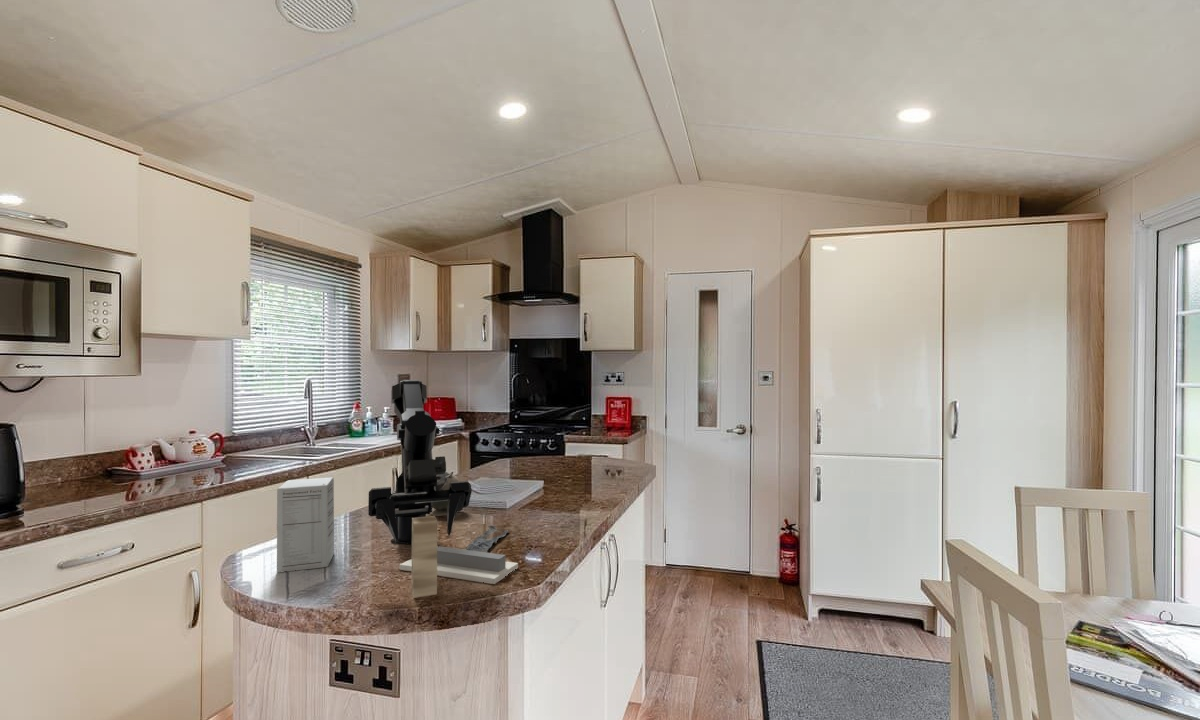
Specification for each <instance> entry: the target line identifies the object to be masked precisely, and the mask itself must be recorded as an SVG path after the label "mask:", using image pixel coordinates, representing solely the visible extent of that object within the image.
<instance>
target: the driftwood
mask: <svg viewBox="0 0 1200 720" xmlns="http://www.w3.org/2000/svg"><path fill="white" fill-rule="evenodd" d="M494 532H498V533H499V532H503V530H498V528H497V527H496V526H495V525H491V524H490V525H489V526H488V530H485V532H483V533H482V534H481V535H479V536H477V537H476V538H475V539H474V540H472V542H471V543H469V544H468V545H467V547H466V548H465V550H471V551H479V552H486V553H488V551H489V549H491V547H492V546H493V544H494V545H496V544H497V541H498V540H499V538H503V537H505V536H506V535H507V534H509V529H505V530H504V533H502V534H500V535H497V536H496V537H492V538H486V537H487V536H490V535H492V534H493V535H494Z"/></svg>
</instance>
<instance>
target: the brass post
mask: <svg viewBox="0 0 1200 720" xmlns="http://www.w3.org/2000/svg"><path fill="white" fill-rule="evenodd" d="M437 546H438V519H437V516H434V515H428V516H426V517H416V518H412V545H411V559H412V571H411V593H412V598H413V599H417V598H422V597H429V596H434V595H438V575H437Z"/></svg>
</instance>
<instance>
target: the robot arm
mask: <svg viewBox="0 0 1200 720" xmlns="http://www.w3.org/2000/svg"><path fill="white" fill-rule="evenodd" d="M427 387H428V386H427V385H426V384H424V383H423V381H422V380H419V379H403V380H400V382H399V383H397V384H396V383H395V384H393V385H392V386H391V391H390V393H391V394H390V396H391V397H390V404H391V405H392V404H393V413H394V414H395V415H396V416H397V418H398V419H399V420H400V421H399V422H400V423H397V425H396V440H397V441H400V445H401V447H400V448H401V449H400V450H401V453H400V454H401V473H400V475H399V476H398V477H397V480H396V482H395V489H394V490H392V486H384V487H374V488H373V487H372V488H371V489H369V491H368V501H367V502H368V516H369V517H375V519H376V520H382V522H383V523H384V524H385V526H386V527H387V529H388V530H389V532H390V534H391V536H392V539H390V543H395V544H403V545H409V546H410V545H411V546H412V518H416V517H426V515H431V513H432V512H433V507H432V503H433V502H436V501H447V500H448V509H447V515H446V532H447V536H451V533H452V529H453V524H454V520H455V518H456V515H457V513H458V512H462V511H463V509H464V508H467V507H468V506H469V505H470V501H471V497H472V490H473V489H472V484H471V483H470V482H469V481H468V480H461V481H460V480H459V482H450V485H449V490H439V491H436V490H435V486H437V475H442V474H445V472H447V461H446V456H445V455H444V456H435V458H434V459H433V448H434V445H435V439H436V438H437V436H438V435H440V427H438V426H437V421H436V420H435V419H434V418H433V417H432V416H431V414H430V413H429V412H427V411H426V410H424V405H425V404H426V403H427V400H428V392H427V391H428V390H427V389H428V388H427Z"/></svg>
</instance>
